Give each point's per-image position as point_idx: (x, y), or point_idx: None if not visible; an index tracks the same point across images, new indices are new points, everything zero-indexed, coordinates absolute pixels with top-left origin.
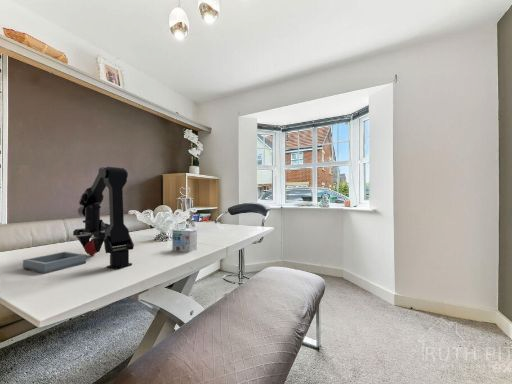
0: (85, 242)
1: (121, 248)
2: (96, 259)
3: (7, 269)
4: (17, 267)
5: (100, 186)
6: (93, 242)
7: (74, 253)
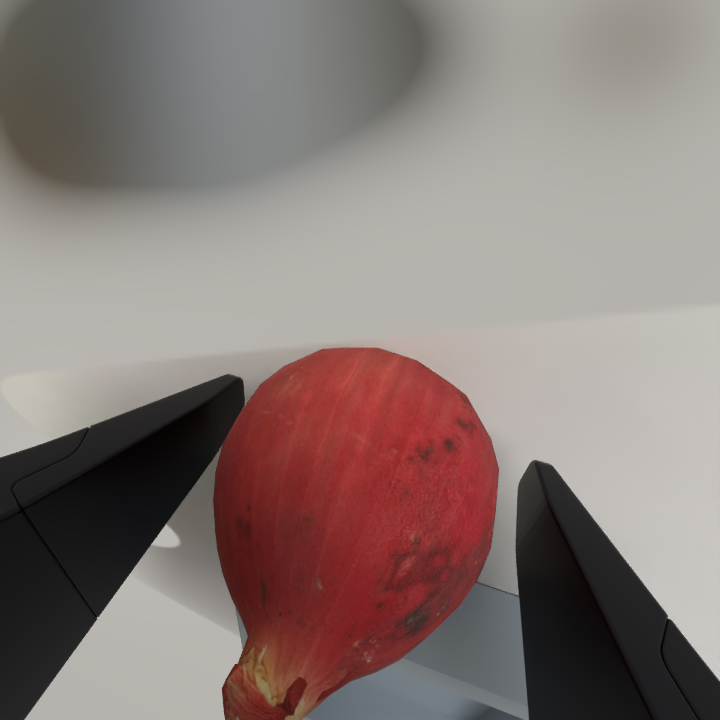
0: (129, 521)
1: None
2: (621, 535)
3: (213, 618)
4: (212, 603)
5: None
6: (404, 654)
7: (417, 669)
